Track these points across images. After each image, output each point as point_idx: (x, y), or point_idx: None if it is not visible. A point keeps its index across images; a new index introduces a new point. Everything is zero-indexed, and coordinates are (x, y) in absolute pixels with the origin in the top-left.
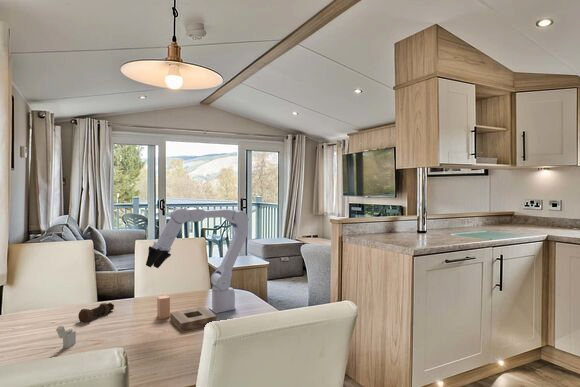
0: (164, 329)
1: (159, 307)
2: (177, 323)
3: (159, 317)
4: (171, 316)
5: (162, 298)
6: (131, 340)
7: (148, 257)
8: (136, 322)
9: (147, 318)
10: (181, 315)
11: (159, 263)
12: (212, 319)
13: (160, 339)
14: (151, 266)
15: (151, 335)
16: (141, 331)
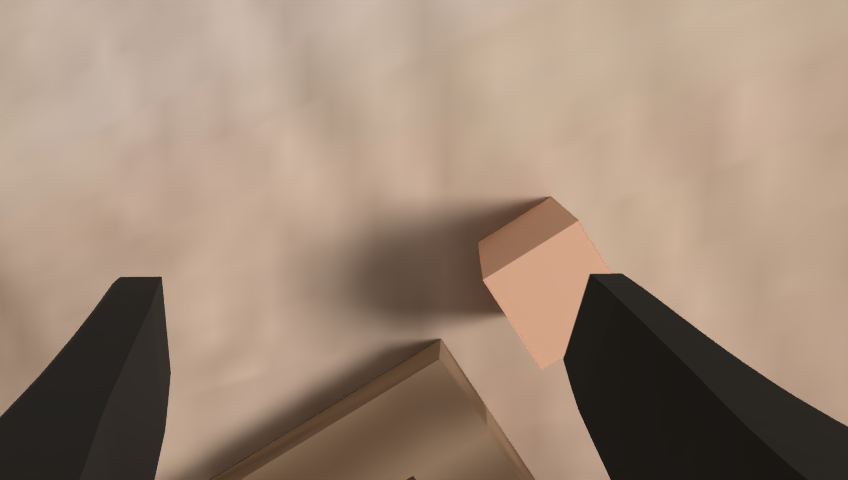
0: (245, 351)
1: (492, 253)
2: (272, 451)
3: (489, 236)
4: (406, 371)
5: (505, 302)
6: (35, 182)
7: (12, 426)
8: (391, 71)
9: (487, 131)
10: (367, 472)
11: (613, 433)
12: None
13: None
14: (166, 396)
15: None
16: (200, 190)
